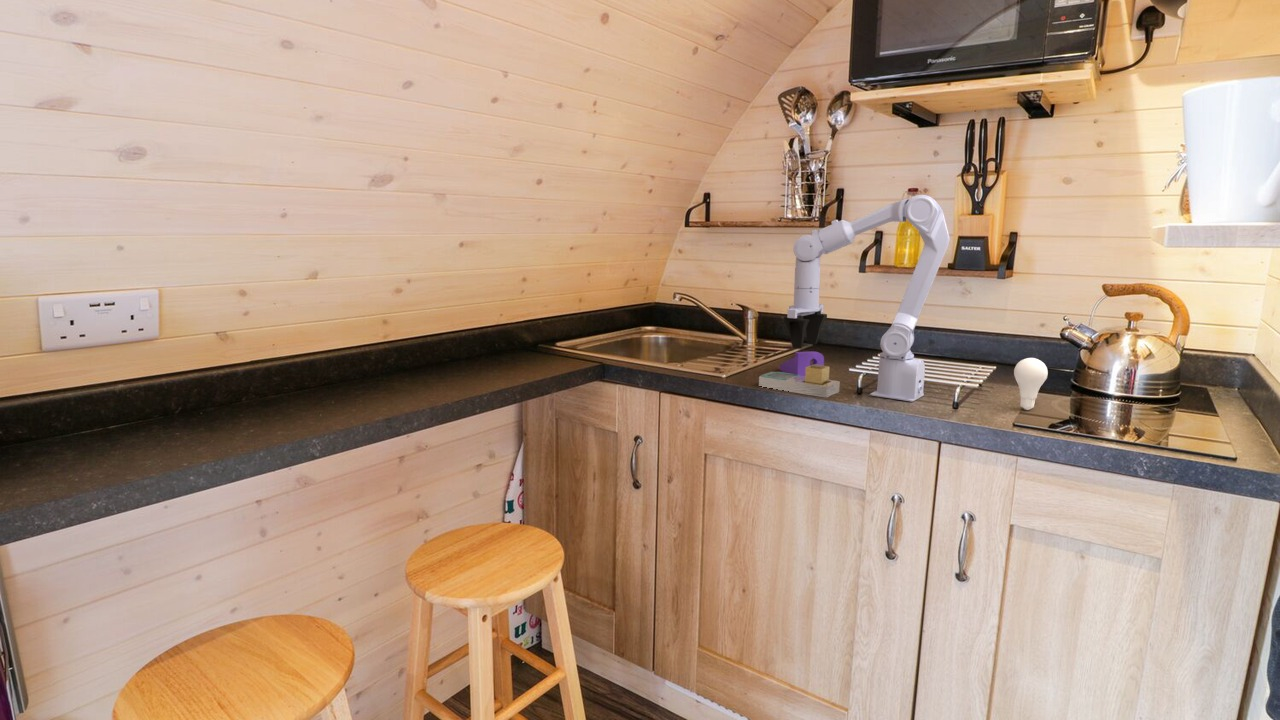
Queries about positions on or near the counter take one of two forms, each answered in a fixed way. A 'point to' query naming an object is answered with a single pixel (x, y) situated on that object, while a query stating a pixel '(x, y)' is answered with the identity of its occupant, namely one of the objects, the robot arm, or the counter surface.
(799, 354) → the bracket
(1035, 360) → the lightbulb
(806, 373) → the beige hollow block
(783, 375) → the white compartment tray
